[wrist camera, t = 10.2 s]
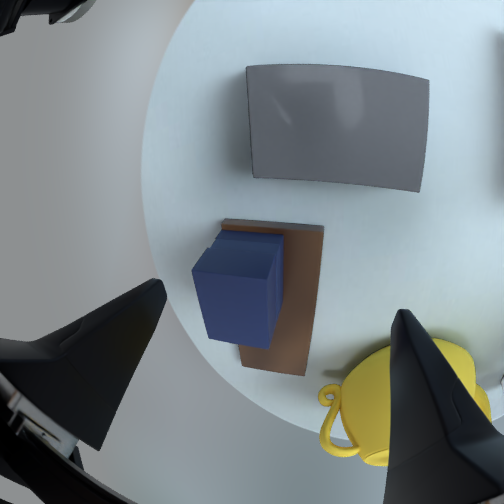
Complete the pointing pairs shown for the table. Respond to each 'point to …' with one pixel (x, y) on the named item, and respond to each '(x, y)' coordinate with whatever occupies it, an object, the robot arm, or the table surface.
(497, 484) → the robot arm
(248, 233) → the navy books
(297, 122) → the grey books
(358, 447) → the teapot
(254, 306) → the navy block
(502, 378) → the can
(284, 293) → the board
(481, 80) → the table surface
